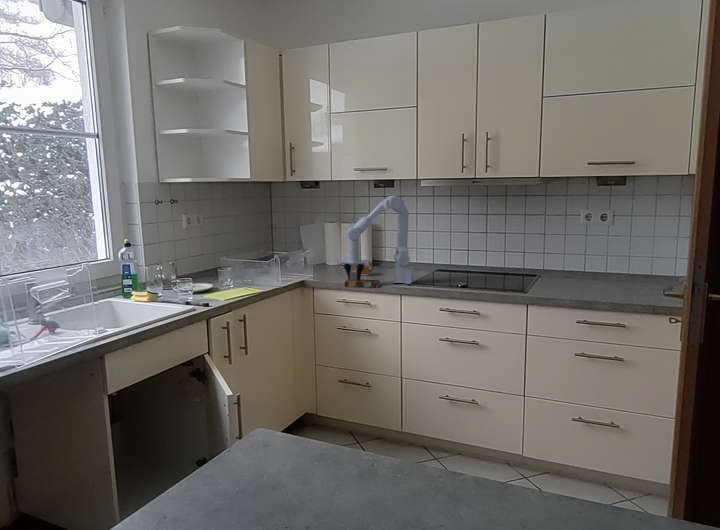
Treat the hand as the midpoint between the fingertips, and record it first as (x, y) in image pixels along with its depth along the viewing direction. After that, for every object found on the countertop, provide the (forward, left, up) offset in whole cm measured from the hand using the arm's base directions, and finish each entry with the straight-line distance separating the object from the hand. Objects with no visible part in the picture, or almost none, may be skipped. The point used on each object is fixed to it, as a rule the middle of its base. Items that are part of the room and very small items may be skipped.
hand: (354, 279), depth 258 cm
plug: (0, 0, -3) cm, 3 cm away
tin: (+5, -26, -3) cm, 27 cm away
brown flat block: (-4, 0, -3) cm, 5 cm away
